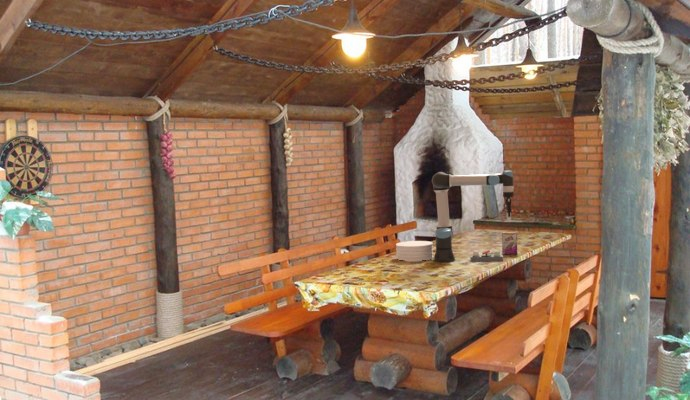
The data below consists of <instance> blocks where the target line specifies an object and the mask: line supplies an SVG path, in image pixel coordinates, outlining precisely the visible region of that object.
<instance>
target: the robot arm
mask: <svg viewBox="0 0 690 400" xmlns="http://www.w3.org/2000/svg"><path fill="white" fill-rule="evenodd" d="M431 184H432V187H433V192H434V193H435V197H436V198H435V199H436V211H437V223H438V224H437V225H436V230H435V234H434V235H435V253H434V255H433V261H434V262H437V263H450V262H455V261H456V257H455V254H454V251H453V238H454V231H453V225H452V224H451V223H450V221H451V220H450V209H449V197H448V194H449V193H448V191H449V190H450V188H451V187H455V186H456V187H458V186H461V187H462V186H465V187H466V186H497V185H501V184H502V191H503V192H502V197H503V198H505V204H506V206H505V207H506V212H505V213H506V220H507V222H512V199H511V198H514V189H515V187H514V172H513V170H502V173H487V174H469V175H468V174H466V175H465V174H464V175H463V174H462V175H461V174H460V175H454V174H453V175H452V174H450V173H446V172H444V171H438V172H436V173H435V174H434V175H433V176H432V178H431Z"/></svg>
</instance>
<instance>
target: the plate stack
mask: <svg viewBox="0 0 690 400" xmlns="http://www.w3.org/2000/svg"><path fill="white" fill-rule="evenodd" d="M433 244H434V243H433V241H428V240H407V241H400V242H397V243H396V244H395V250H396V251H395V252H396V260H397V259H399V260H405V261H404V262H411V261H412V262H423V261H422V260H426V261H430V259H431V260H434V246H433ZM399 260H398V261H399Z"/></svg>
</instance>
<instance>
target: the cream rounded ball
mask: <svg viewBox="0 0 690 400" xmlns="http://www.w3.org/2000/svg"><path fill="white" fill-rule="evenodd" d="M472 252H473V253H472V254H473V257H479V255H480V254H479V253H480V252H479V250H474V251H472Z"/></svg>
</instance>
